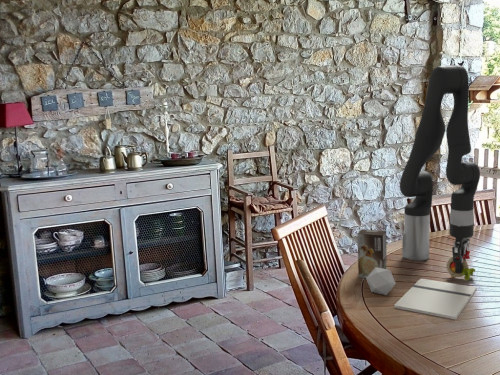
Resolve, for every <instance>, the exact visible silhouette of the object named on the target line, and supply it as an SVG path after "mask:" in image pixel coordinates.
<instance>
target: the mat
mask: <svg viewBox="0 0 500 375" xmlns="http://www.w3.org/2000/svg"><path fill="white" fill-rule="evenodd" d="M477 288H478V287H476V286H470V285H464V284H458V283H453V282H446V281H440V280H433V279H427V278H420V279H419V280H417V281H416V282H415V284H413V285H412V287H411V288H410V289H408V290H407V291H406V293H405V294H404V295H402V297H401V298H399V300H398V301H397V302H396V303H395V304H394V305H393V308H395V309H399V310H404V311H408V312H409V311H410V312H414V313H419V314H424V315H425V314H426V315H430V316H436V317H439V318H446V319H452V320H457V318H458V317H459V316H460V314H461V313H462V311H463V310H464V308H466V306H467V304H468V303H469V301H470V300H471V298H472V297H473V295H474V294H475V292H476V291H477Z"/></svg>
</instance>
